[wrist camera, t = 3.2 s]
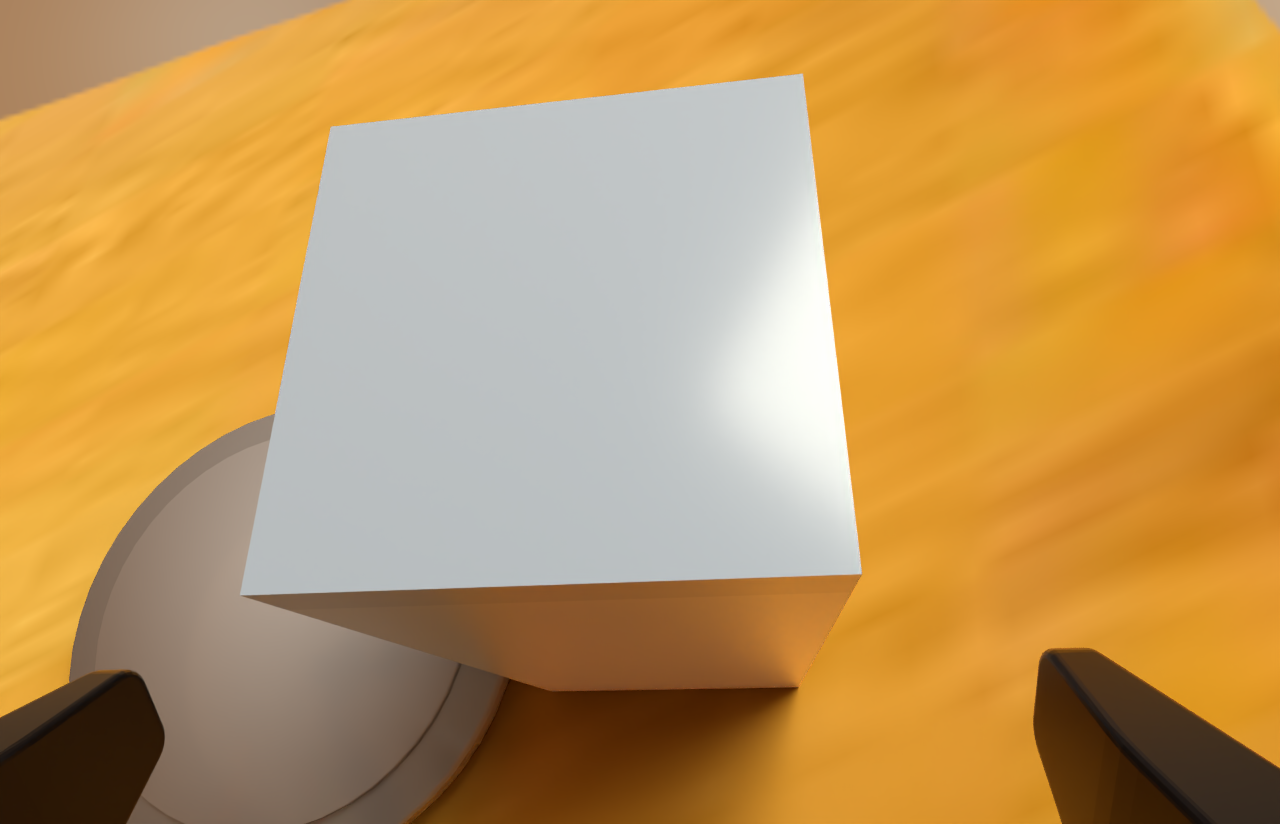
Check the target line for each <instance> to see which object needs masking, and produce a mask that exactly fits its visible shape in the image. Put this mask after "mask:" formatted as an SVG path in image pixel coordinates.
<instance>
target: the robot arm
mask: <svg viewBox="0 0 1280 824" xmlns="http://www.w3.org/2000/svg"><path fill="white" fill-rule="evenodd" d="M1033 727H1034V735H1035V740H1036V745H1037V748H1038V752H1039V755H1040V758H1041V761H1042V764H1043V767H1044V770H1045V773H1046V776H1047V779H1048V782H1049V785H1050V788H1051V791H1052V794H1053V797H1054V800H1055V803H1056V806H1057V810H1058V813H1059V816H1060V819H1061V822H1062V824H1280V768H1279V767H1277V766H1276V765H1274V764H1273V763H1271V762H1270V761H1268V760H1266V759H1265V758H1263V757H1262V756H1260V755H1259V754H1257V753H1256V752H1254V751H1252V750H1251V749H1249V748H1248V747H1246V746H1245V745H1243V744H1241V743H1240V742H1238V741H1237V740H1235V739H1234V738H1232V737H1231V736H1229V735H1227V734H1226V733H1224V732H1223V731H1221V730H1220V729H1218V728H1217V727H1215V726H1213V725H1212V724H1210V723H1209V722H1207V721H1206V720H1204V719H1202V718H1201V717H1199V716H1198V715H1196V714H1195V713H1193V712H1192V711H1190V710H1188V709H1187V708H1185V707H1184V706H1182V705H1181V704H1179V703H1177V702H1176V701H1174V700H1173V699H1171V698H1170V697H1168V696H1167V695H1165V694H1163V693H1162V692H1160V691H1159V690H1157V689H1156V688H1154V687H1153V686H1151V685H1149V684H1148V683H1146V682H1145V681H1143V680H1142V679H1140V678H1138V677H1137V676H1135V675H1134V674H1132V673H1131V672H1129V671H1128V670H1126V669H1124V668H1123V667H1121V666H1120V665H1118V664H1117V663H1115V662H1114V661H1112V660H1110V659H1109V658H1107V657H1106V656H1104V655H1103V654H1101V653H1099V652H1097V651H1095V650H1093V649H1090V648H1054V649H1048V650H1046V651H1045V652H1044V653H1042V656H1041V658H1040V661H1039V667H1038V677H1037V687H1036V697H1035V706H1034V716H1033ZM164 743H165V730H164V727H163V724H162V722H161V719H160V717H159V714H158V712H157V710H156V707H155V705H154V702H153V700H152V698H151V695H150V693H149V690H148V688H147V686H146V683H145V681H144V679H143V678H142V676H141V675H139V674H138V673H137V672H136V671H132V670H128V669H121V670H98V671H94V672H91V673H88V674H86V675H84V676H82V677H80V678H78V679H76V680H74V681H72V682H70V683H68V684H66V685H64V686H62V687H60V688H58V689H56V690H54V691H52V692H50V693H48V694H46V695H44V696H42V697H40V698H38V699H36V700H34V701H32V702H30V703H28V704H26V705H24V706H22V707H20V708H18V709H16V710H14V711H12V712H10V713H8V714H6V715H4V716H2V717H0V824H127V822H128V820H129V818H130V816H131V814H132V812H133V810H134V808H135V806H136V804H137V802H138V800H139V798H140V796H141V794H142V792H143V790H144V788H145V786H146V784H147V782H148V780H149V778H150V776H151V774H152V772H153V770H154V768H155V766H156V764H157V762H158V760H159V759H160V756H161V754H162V751H163V748H164Z"/></svg>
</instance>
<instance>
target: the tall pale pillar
mask: <svg viewBox="0 0 1280 824" xmlns="http://www.w3.org/2000/svg"><path fill="white" fill-rule="evenodd" d="M861 575H862V571H861V562H860V554H859V545H858V537H857V528H856V520H855V511H854V503H853V495H852V486H851V478H850V469H849V461H848V452H847V444H846V435H845V427H844V418H843V410H842V402H841V393H840V385H839V376H838V368H837V359H836V351H835V342H834V334H833V326H832V317H831V309H830V300H829V292H828V283H827V275H826V266H825V258H824V249H823V241H822V233H821V224H820V216H819V207H818V199H817V190H816V182H815V173H814V165H813V157H812V148H811V140H810V131H809V123H808V114H807V106H806V97H805V89H804V80H803V74H797V75H788V76H779V77H770V78H761V79H752V80H744V81H735V82H726V83H717V84H708V85H699V86H690V87H681V88H672V89H663V90H655V91H646V92H637V93H628V94H619V95H610V96H601V97H592V98H583V99H574V100H566V101H557V102H548V103H539V104H530V105H521V106H512V107H503V108H494V109H485V110H477V111H468V112H459V113H450V114H441V115H432V116H423V117H414V118H405V119H396V120H388V121H379V122H370V123H361V124H352V125H343V126H334V127H331V129H330V135H329V140H328V145H327V150H326V155H325V160H324V165H323V171H322V176H321V181H320V186H319V191H318V196H317V201H316V206H315V212H314V217H313V222H312V227H311V232H310V237H309V242H308V248H307V253H306V258H305V263H304V268H303V273H302V278H301V284H300V289H299V294H298V299H297V304H296V309H295V314H294V320H293V325H292V330H291V335H290V340H289V345H288V350H287V355H286V361H285V366H284V371H283V376H282V381H281V386H280V391H279V397H278V402H277V407H276V412H275V417H274V422H273V427H272V433H271V438H270V443H269V448H268V453H267V458H266V463H265V469H264V474H263V479H262V484H261V489H260V494H259V499H258V504H257V510H256V515H255V520H254V525H253V530H252V535H251V540H250V546H249V551H248V556H247V561H246V566H245V571H244V576H243V582H242V587H241V592H240V596H243V597H246V598H249V599H253V600H256V601H259V602H262V603H266V604H269V605H272V606H275V607H279V608H282V609H285V610H288V611H292V612H295V613H298V614H301V615H305V616H308V617H311V618H314V619H318V620H321V621H324V622H327V623H331V624H334V625H337V626H340V627H344V628H347V629H350V630H353V631H357V632H360V633H363V634H366V635H370V636H373V637H376V638H380V639H383V640H386V641H389V642H393V643H396V644H399V645H402V646H406V647H409V648H412V649H415V650H419V651H422V652H425V653H428V654H432V655H435V656H438V657H441V658H445V659H448V660H451V661H454V662H458V663H461V664H464V665H467V666H471V667H474V668H477V669H480V670H484V671H487V672H490V673H493V674H497V675H500V676H503V677H506V678H510V679H513V680H516V681H519V682H523V683H526V684H529V685H532V686H536V687H539V688H542V689H545V690H549V691H608V690H666V689H725V688H783V687H799V686H800V684H801V682H802V681H803V679H804V677H805V675H806V673H807V672H808V670H809V668H810V666H811V664H812V663H813V661H814V659H815V657H816V656H817V654H818V652H819V650H820V648H821V647H822V645H823V643H824V641H825V639H826V638H827V636H828V634H829V632H830V630H831V629H832V627H833V625H834V623H835V622H836V620H837V618H838V616H839V614H840V613H841V611H842V609H843V607H844V605H845V604H846V602H847V600H848V598H849V596H850V595H851V593H852V591H853V589H854V588H855V586H856V584H857V582H858V580H859V579H860V577H861Z"/></svg>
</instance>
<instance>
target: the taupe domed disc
mask: <svg viewBox="0 0 1280 824" xmlns="http://www.w3.org/2000/svg"><path fill="white" fill-rule="evenodd" d="M274 417H275V414H273V415H270V416H268V417H265V418H262V419H259V420H256V421H254V422H251V423H248V424H246V425H244V426H242V427H240V428H238V429H236V430H234V431H232V432H230V433H228V434H226V435H224V436H222V437H221V438H219V439H217V440H216V441H214V442H212V443H211V444H209V445H208V446H206V447H204V448H203V449H201V450H200V451H198V452H197V453H196V454H194V455H193V456H192V457H191V458H189V459H188V460H187V461H185V462H184V463H183V464H181V465H180V466H179V467H178V468H176V469H175V470H174V471H173V472H172V473H171V474H170V475H169V476H168V477H167V478H166V479H165V480H164V481H163V482H161V483H160V484H159V485H158V486H157V487H156V488H155V489H154V490H153V492H152V493H151V494H150V495H149V496H148V497H147V498H146V499H145V501H144V502H143V503H142V504H141V505H140V506H139V507H138V509H137V510H136V511H135V512H134V514H133V515H132V516H131V518H130V519H129V521H128V522H127V523H126V525H125V526H124V527H123V529H122V530H121V532H120V533H119V534H118V536H117V538H116V539H115V541H114V543H113V545H112V546H111V548H110V550H109V551H108V553H107V555H106V556H105V558H104V560H103V562H102V564H101V566H100V568H99V570H98V572H97V575H96V577H95V579H94V581H93V583H92V585H91V588H90V590H89V593H88V596H87V599H86V602H85V604H84V607H83V610H82V613H81V616H80V619H79V624H78V628H77V632H76V637H75V641H74V645H73V651H72V660H71V669H70V678H69V683H70V682H72V681H74V680H76V679H78V678H80V677H82V676H84V675H86V674H88V673H91V672H94V671H98V670H121V669H128V670H132V671H136V672H137V673H138V674H139V675H141V676H142V678H143V679H144V681H145V683H146V686H147V688H148V690H149V693H150V695H151V698H152V700H153V702H154V705H155V707H156V710H157V712H158V714H159V717H160V719H161V722H162V724H163V727H164V730H165V743H164V748H163V751H162V754H161V756H160V759H159V760H158V762H157V764H156V766H155V768H154V770H153V772H152V774H151V776H150V778H149V780H148V782H147V784H146V786H145V788H144V790H143V792H142V794H141V796H140V798H139V800H138V802H137V804H136V806H135V808H134V810H133V812H132V814H131V816H130V818H129V820H128V822H127V824H410V823H411V822H413V821H414V820H415V819H416V818H417V817H418V816H419V815H420V814H421V813H422V812H424V811H425V810H426V809H427V808H428V807H429V806H430V805H431V804H432V803H434V802H435V801H436V800H437V799H438V798H439V797H440V796H441V794H442V793H443V792H444V791H445V790H446V789H447V788H448V786H449V785H450V784H451V783H452V782H453V781H454V779H455V778H456V777H457V776H458V775H459V774H460V773H461V771H462V770H463V768H464V767H465V765H466V764H467V762H468V761H469V759H470V758H471V757H472V755H473V754H474V752H475V751H476V749H477V748H478V746H479V745H480V743H481V741H482V740H483V738H484V736H485V734H486V732H487V730H488V728H489V726H490V724H491V722H492V720H493V719H494V717H495V715H496V713H497V710H498V708H499V705H500V702H501V700H502V697H503V695H504V692H505V689H506V687H507V684H508V681H509V678H506V677H503V676H500V675H497V674H493V673H490V672H487V671H484V670H480V669H477V668H474V667H471V666H467V665H464V664H461V663H458V662H454V661H451V660H448V659H445V658H441V657H438V656H435V655H432V654H428V653H425V652H422V651H419V650H415V649H412V648H409V647H406V646H402V645H399V644H396V643H393V642H389V641H386V640H383V639H380V638H376V637H373V636H370V635H366V634H363V633H360V632H357V631H353V630H350V629H347V628H344V627H340V626H337V625H334V624H331V623H327V622H324V621H321V620H318V619H314V618H311V617H308V616H305V615H301V614H298V613H295V612H292V611H288V610H285V609H282V608H279V607H275V606H272V605H269V604H266V603H262V602H259V601H256V600H253V599H249V598H246V597H243V596H240V592H241V587H242V582H243V576H244V571H245V566H246V561H247V556H248V551H249V546H250V540H251V535H252V530H253V525H254V520H255V515H256V510H257V504H258V499H259V494H260V489H261V484H262V479H263V474H264V469H265V463H266V458H267V453H268V448H269V443H270V438H271V433H272V427H273V422H274Z"/></svg>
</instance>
